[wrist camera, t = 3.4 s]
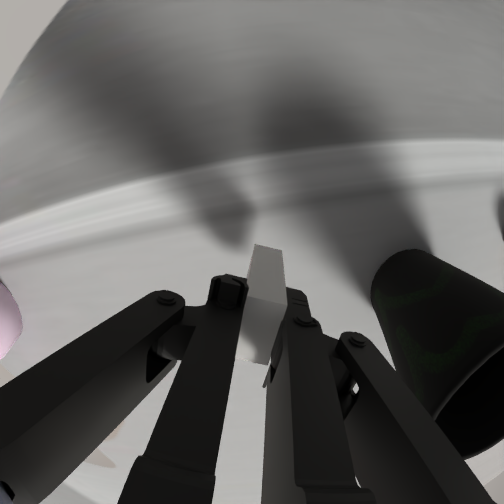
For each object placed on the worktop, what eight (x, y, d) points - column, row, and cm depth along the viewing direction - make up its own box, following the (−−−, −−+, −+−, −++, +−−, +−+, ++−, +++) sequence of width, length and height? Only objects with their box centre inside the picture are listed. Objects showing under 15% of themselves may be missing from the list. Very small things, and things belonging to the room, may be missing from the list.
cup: (433, 212, 18) (566, 281, 6) (461, 300, 19) (554, 397, 8) (336, 271, 19) (399, 408, 8) (378, 352, 21) (432, 482, 10)
